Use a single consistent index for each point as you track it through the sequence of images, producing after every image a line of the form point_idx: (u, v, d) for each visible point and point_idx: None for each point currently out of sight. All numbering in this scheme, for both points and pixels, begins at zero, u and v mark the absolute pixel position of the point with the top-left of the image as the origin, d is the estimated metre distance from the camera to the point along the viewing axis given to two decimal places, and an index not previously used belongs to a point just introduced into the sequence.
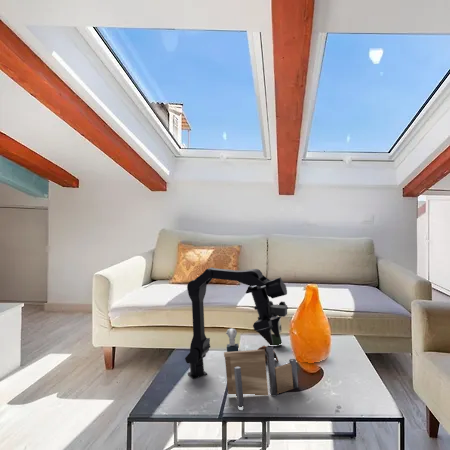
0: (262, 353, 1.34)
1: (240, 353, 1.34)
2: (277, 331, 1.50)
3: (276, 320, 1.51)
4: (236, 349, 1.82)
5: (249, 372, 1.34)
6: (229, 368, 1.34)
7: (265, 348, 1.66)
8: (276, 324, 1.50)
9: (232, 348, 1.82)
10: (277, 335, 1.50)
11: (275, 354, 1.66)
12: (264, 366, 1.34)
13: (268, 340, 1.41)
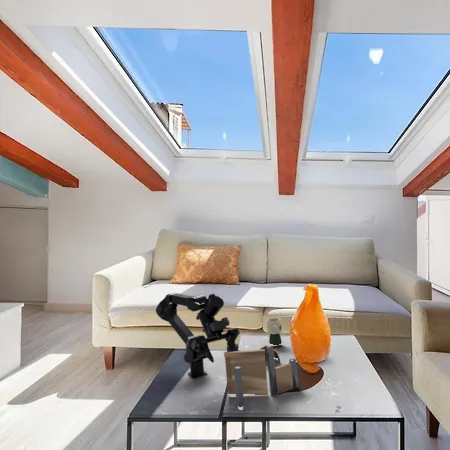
0: (262, 353, 1.34)
1: (240, 353, 1.34)
2: (233, 350, 1.44)
3: (230, 339, 1.47)
4: (236, 349, 1.82)
5: (249, 372, 1.34)
6: (229, 368, 1.34)
7: None
8: (231, 343, 1.46)
9: None
10: None
11: (277, 354, 1.65)
12: (264, 366, 1.34)
13: (209, 358, 1.40)
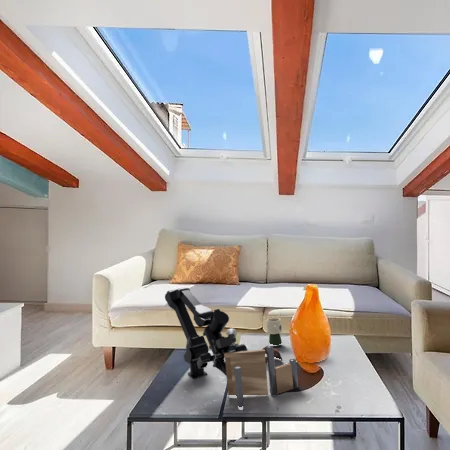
0: (262, 353, 1.34)
1: (240, 354, 1.33)
2: None
3: None
4: None
5: (249, 372, 1.34)
6: (229, 369, 1.34)
7: None
8: None
9: (232, 348, 1.82)
10: None
11: (279, 354, 1.65)
12: (264, 366, 1.34)
13: (225, 373, 1.36)
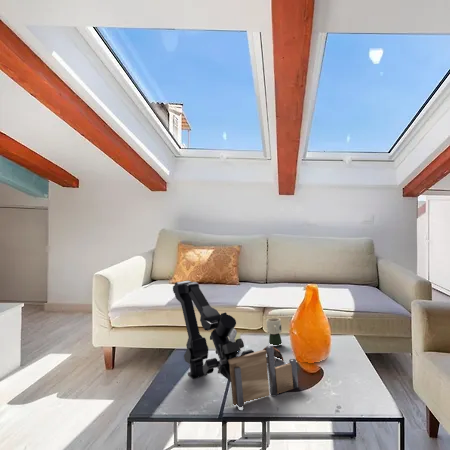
0: (264, 353, 1.33)
1: (245, 357, 1.29)
2: None
3: None
4: None
5: (253, 376, 1.31)
6: None
7: None
8: None
9: None
10: None
11: (280, 354, 1.65)
12: (265, 366, 1.33)
13: None
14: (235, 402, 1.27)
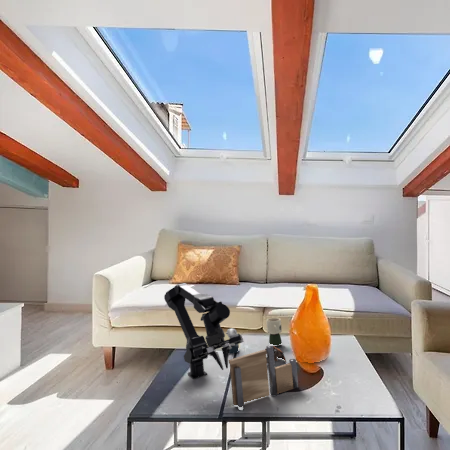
0: (264, 353, 1.33)
1: (245, 357, 1.29)
2: None
3: None
4: (236, 349, 1.82)
5: (253, 376, 1.31)
6: None
7: None
8: None
9: (232, 348, 1.82)
10: (226, 366, 1.40)
11: (283, 354, 1.65)
12: (265, 366, 1.33)
13: None
14: (235, 402, 1.27)
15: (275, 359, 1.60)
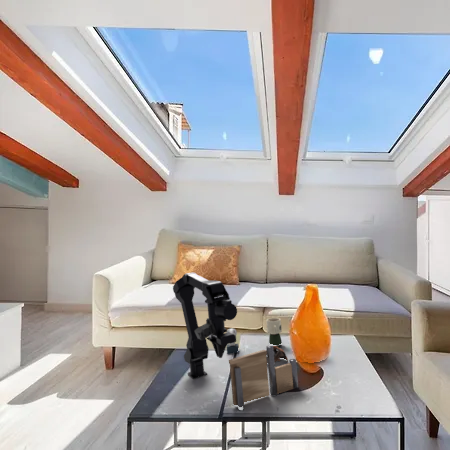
0: (264, 353, 1.33)
1: (245, 357, 1.29)
2: None
3: None
4: (236, 349, 1.82)
5: (253, 376, 1.31)
6: None
7: (275, 348, 1.65)
8: None
9: (232, 348, 1.82)
10: None
11: (285, 354, 1.65)
12: (265, 366, 1.33)
13: None
14: (235, 402, 1.27)
15: (277, 359, 1.60)
